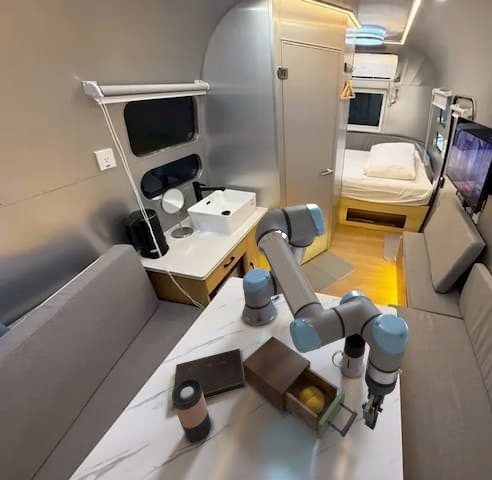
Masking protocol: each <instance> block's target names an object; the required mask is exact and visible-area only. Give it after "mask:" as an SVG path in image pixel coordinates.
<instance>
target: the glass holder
mask: <svg viewBox="0 0 492 480" xmlns="http://www.w3.org/2000/svg"><path fill="white" fill-rule="evenodd" d="M366 345H367V343H366V341H365V340H364V339H363V338H362V337H361V336H360V335H359V334H358V333H356V334H353V335H351V336H348V337H346V338H344V346H343V350H342V349H339V350H336V351H335V352H334V353H333V354H332V356H331V362H332V365H334V366H335V367H337V368H340V370H341V372H342V373H343V374H344V375H345V376H346V377H349V378H357V377H359V376H361V375H362V373H363V372H364V359H365V354H366ZM339 353H340V354H341V357H342V359H341V360H342V361H341V363H340V364H336V363H335V361H334V359H335V356H336V355H337V354H339Z"/></svg>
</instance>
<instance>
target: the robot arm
mask: <svg viewBox="0 0 492 480" xmlns="http://www.w3.org/2000/svg"><path fill="white" fill-rule="evenodd" d="M325 221H326V220H325V218H324V214H323V212H322V210H321V208H320V207H319V206H318V205H317V204H315V203H304V204H299V205H293V206H286V207H281V208H274V209H271V210H269V211H267V212H266V213H265V214H264V215H262V217H261V218H260V219H259V221H258V223H257V225H256V228H255V233H254V237H255V238H254V240H255V245H256V247H257V249H258V251H259V253H260V254H261V255H262V256H264V257H265V259H266V261H267V264H268V265H269V268H270V270H268V269H266V268H261V267H256V268H253V269H250V270H249V271H247V272H246V273H245V274H244V276H243V278H242V290H243V296H244V297H243V298H244V306H243V310H242V319H243V322H244V323H245V324H247V325H248V326H251V327H264V326H266V325H268V324H270V323H271V322H272V321H273V320H274V319H275V317H276V316H277V315H276V313H277V312H276V311H277V310H276V307H275V305H274V303H273V301H276V300H277V299H278V298H280V295H282V296H283V298H284V300H285V303H286V304H287V307H288V309H289V311H290V313H291V315H292V317H293V320H292V321H291V322H290V324H289V334H290V337H291V341H292V344H293V346H294V348H295V349H296V351H298V353H299V354H300V353H301V354H305V353H309V352H313V351H316V350H319V349H321V348H322V347H325V346H328V345H330V344H333V343H335V342H337V341H340V340H343V339H345V338H346V337H348V336H351V335H353V334H356V333H358V334H359V335H360V336H361V337H362V338H363V339H364V340H365V341H366V345H367V346H368V347H369V350H368V355H367V360H366V365H365V371H364V383H365V385H366V387H367V399H368V401H365V402H363V403H362V404H361V409H362V419H363V420H364V425H365V426H366V427H368V428H369V429H370V430H371V431H374V430H375V428H376V426H377V421H378V418H379V413H380V414H382V412H383V411H384V409H383V408H382V405H383V404H384V400H385V397H386V396H387V395H390V394H391V393H393V391H395V389H396V386H397V382H398V378H399V376H401V375H402V374H403V371H402V370H401V366H402V361H403V359H404V355H405V352H406V349H407V347H408V344H409V343H408V342H409V334H410V330H409V326H408V324H407V322H406V321H405V320H404V319H403V318H402V317H400V316H399V317H398V316H396V314H393V313H383V312H382V311H381V310H380V309H379V308H378V307H377V306H376V305H375V303H374V302H373V301H372V299H370V298H369V297H368V296H367V295H366V294H364V293H363V292H362V291H360V290H350V291H348V292H347V294H344V295H343V296H342V298H340V301H339V304H338V305H336V306H332V307H330V308H326V309H325V308H324V306H323V305H322V302H321V301H320V300H319V299H320V298H318V296H317V294H316V292H315V290H314V289H313V287H312V285H311V282H310V281H309V280H308V278H307V276H306V274H305V273H304V271H303V269H302V267H301V265H302V263H303V260H304V258H305V255H306V252H307V249H308V248H309V247H310V246H312V245H313V243H314V242H315V240H316V239H315V238H316V237H321V236H323V235H324V234H325V233H326V222H325ZM273 297H274V298H273Z"/></svg>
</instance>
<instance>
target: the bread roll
mask: <svg viewBox="0 0 492 480" xmlns="http://www.w3.org/2000/svg"><path fill="white" fill-rule="evenodd" d="M298 401H300V402H301V403H302V404H303V405H305V406H306V407H307V408H309V409H310V410H311V411H312V412H314V413H315V414H319V413H320V412H321V411H322V410H323V407H324V404H325V399H324V395H323V394H322V392H321V391H320V390H319V389H318V388H316V387H314V386H309V387H307V388H305V389H303V390H302V391H301V392H300V393H299V397H298Z"/></svg>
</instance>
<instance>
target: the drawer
mask: <svg viewBox="0 0 492 480" xmlns="http://www.w3.org/2000/svg"><path fill="white" fill-rule="evenodd" d="M309 386H314V387H316V388H318V389H319V390H320V391H321V392H322V394H323V395H324V399H325V404H324V407H323V410H322V411H321V412H320V413H319V414H315V413H314V412H312V411H311V410H310V409H309V408H307V407H306V406H305V405H303V404H302V403H301V402H300V401H298V397H299V393H300V392H301V391H302V390H303V389H305V388H307V387H309ZM338 389H339V387H338V386H337V385H336V384H334V383H333V382H331V381H330V380H328V379H327V378H326V377H324V376H323V375H321V374H320V373H318V372H317V371H315V370H314V369H312V368H311V367H310V368H309V367H307V368H306V369H305V370H304V371H303V373H302V374H301V375H300V376H299V377H298V378H297V379H296V381H295V382H294V383H293V384H292V385H291V386H290V387H289V389H288V390H287V391H286V392H285V393H284V406H285V407H286V409H287V410H289V411H290V412H291V413H292V414H294V416H296V417H297V418H299V419H300V421H302V422H303V423H305V425H307V426H308V427H309V428H311V429H312V430H313V431H314V432H317V438H318V439H319V441H322V439H323V437H324V436H325V435H326V433H327V431H328V430H329V428H330V427H331V428H333V429H334V430H335V431H336V432H337V433H339V434H340V437H342V438H345V437H346V436H347V434H348V433H349V430H350V429H351V427H352V425H353V424H354V422H355V421H356V419H357V417H358V415H359V413H358V412H357V411H356V410H352V409H351V408H350V407H348V406H347V405H345V400H346V394H347V393H346V392H347V389H346V388H345V387H341V390H340V391H339V392H338ZM342 408H344V409H345V410H347V411H348V412H349V413H350V414H351V416H350V417H349V418H348V420H347V422H346V423H345V424H344V427H343V428H342V430H341V429H340V428H339V427H337V426H336V425H335V424H333V422H334V421H335V419H336V418H337V416H338V414H339V413H340V412H341V410H342Z"/></svg>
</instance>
